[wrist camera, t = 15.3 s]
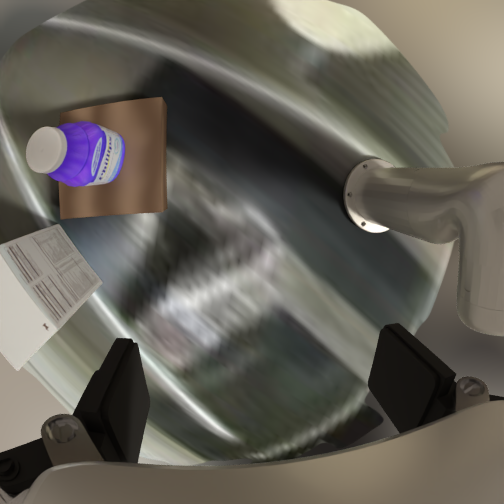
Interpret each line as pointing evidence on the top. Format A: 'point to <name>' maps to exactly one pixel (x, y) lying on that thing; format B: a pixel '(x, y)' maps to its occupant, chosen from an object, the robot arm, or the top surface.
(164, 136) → the plinth
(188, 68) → the top surface
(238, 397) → the top surface
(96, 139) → the bottle
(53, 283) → the supplement box
